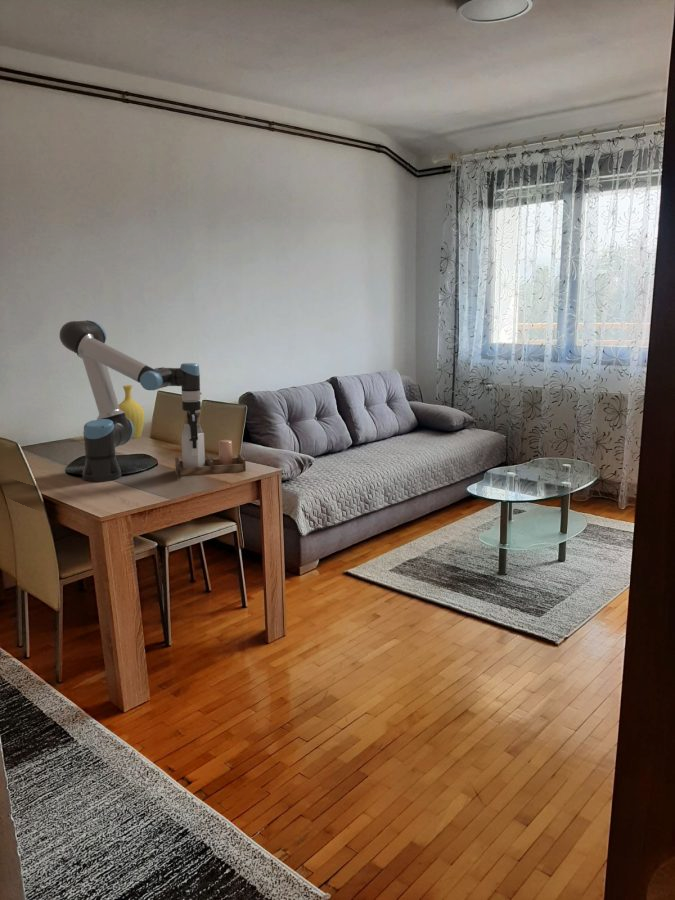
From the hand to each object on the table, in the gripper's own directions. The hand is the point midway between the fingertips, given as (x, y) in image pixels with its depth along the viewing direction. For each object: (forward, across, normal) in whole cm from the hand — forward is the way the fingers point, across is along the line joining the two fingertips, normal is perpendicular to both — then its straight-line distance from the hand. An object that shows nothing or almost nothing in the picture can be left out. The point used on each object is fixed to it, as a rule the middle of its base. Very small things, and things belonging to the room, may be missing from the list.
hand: (193, 453), depth 279 cm
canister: (+7, 0, -14) cm, 16 cm away
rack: (+9, 0, -7) cm, 11 cm away
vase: (+9, +93, +25) cm, 97 cm away
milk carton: (+7, 0, 0) cm, 7 cm away
